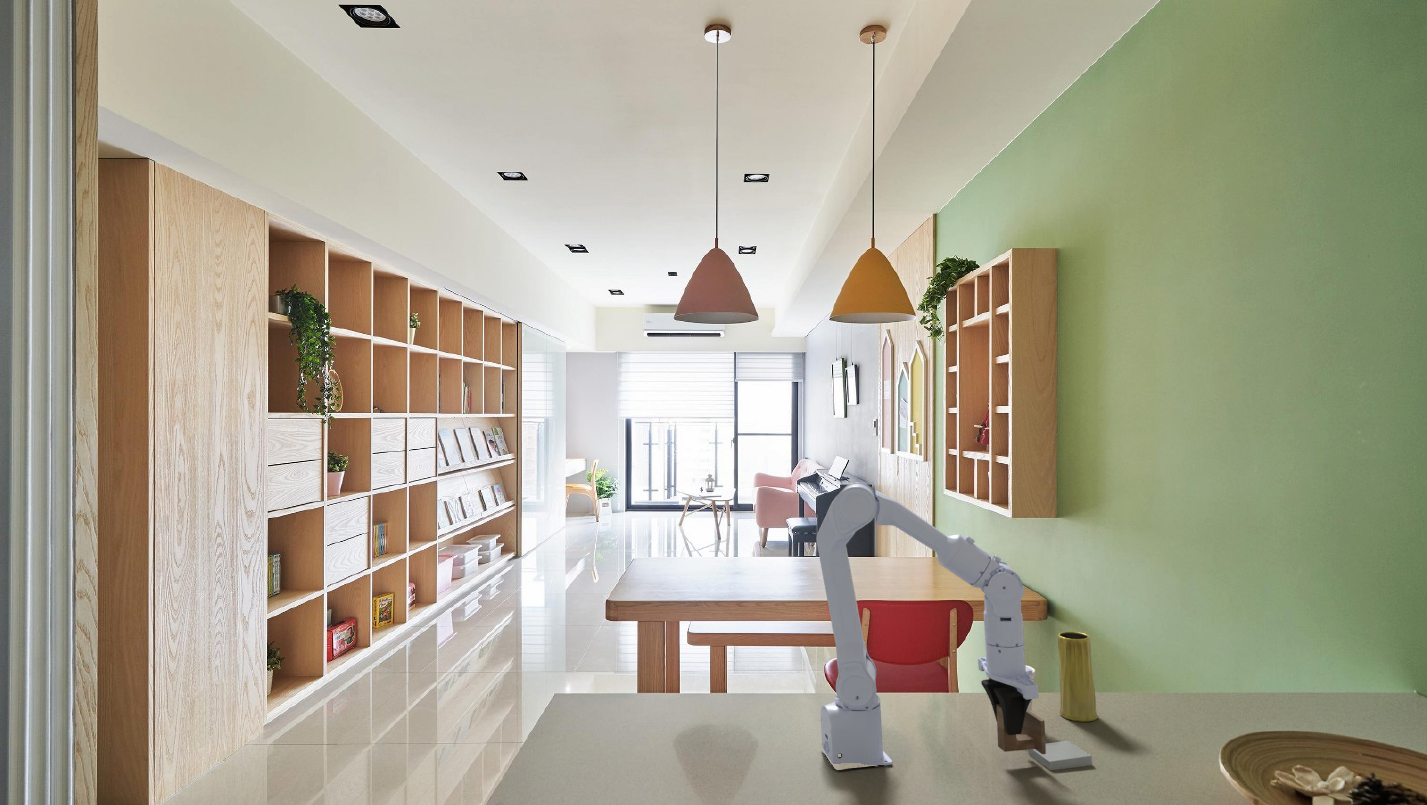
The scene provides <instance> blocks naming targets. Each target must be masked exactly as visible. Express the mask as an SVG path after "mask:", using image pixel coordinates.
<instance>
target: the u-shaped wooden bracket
mask: <svg viewBox="0 0 1427 805" xmlns="http://www.w3.org/2000/svg"><path fill="white" fill-rule="evenodd" d="M996 707H997V721H996V723H997V726H996V727H997V729H996V730H997V747H998V748H999V749H1001V751H1003V752H1004V753H1005V752H1007V753H1008V752H1017V751H1028V750H1030V749H1036V750H1037V751H1038V752H1040V753H1041V754H1046V744H1047V743H1046V729H1045V728H1046V727H1045V726H1046V725H1045V720H1044V719H1042V718H1041V717H1040V716H1038V715H1037V714H1035V713H1033V712H1030V711H1029V710H1027V711H1026V714H1025V718H1024V723H1023V728H1022V733H1021V734H1016V735H1008V734H1007V732H1006V728H1005V724H1004V718H1003V712H1002V708H1001V705H1000V704H996Z"/></svg>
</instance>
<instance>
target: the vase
mask: <svg viewBox="0 0 1427 805" xmlns="http://www.w3.org/2000/svg"><path fill="white" fill-rule="evenodd" d="M1057 644H1058V645H1057V647H1058V649H1057V650H1058V661H1059V663H1058V664H1059V671H1058V672H1059V691H1060V692H1059V693H1060V709H1059V713H1060V716H1062V717H1063V718H1065V719H1067V720H1068V721H1069V720H1070V721H1073V722H1080V723H1088V722H1094V721H1095V720H1097V719H1098V717H1099V715H1098V713H1097V700H1096V699H1097V698H1096V690H1095V683H1094V682H1095V680H1094V679H1095V678H1094V671H1093V661H1092V647H1091V646H1092V645H1091V637H1090V635H1089V634H1087V633H1084V632H1079V631H1061V632H1059V633H1058V634H1057Z"/></svg>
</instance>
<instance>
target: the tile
mask: <svg viewBox="0 0 1427 805" xmlns="http://www.w3.org/2000/svg"><path fill="white" fill-rule="evenodd" d="M1045 744H1046V754H1041V753H1040V752H1038V751H1037V750H1036V749H1030V750H1027V752H1028V754H1027V755H1029V756H1030V757H1032V758H1033V759H1034V760H1036V761H1037V762H1039V763H1040V764H1041V765H1042V766H1044V767H1046V768H1047V769H1048V770H1049V771H1053V770H1054V771H1055V770H1061V769H1062V770H1063V769H1071V768H1080V767H1081V768H1082V767H1088V766H1090V767H1091V766H1093V759H1092V758H1093V757H1092V755H1091V754H1089V753H1088V752H1086V751H1085V750H1083V749H1082V748H1081V747H1079V746H1078V745H1076V744H1074V743H1072V742H1071V741H1070V740H1061V741H1055V742H1049V743H1048V742H1047V743H1045Z"/></svg>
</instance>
